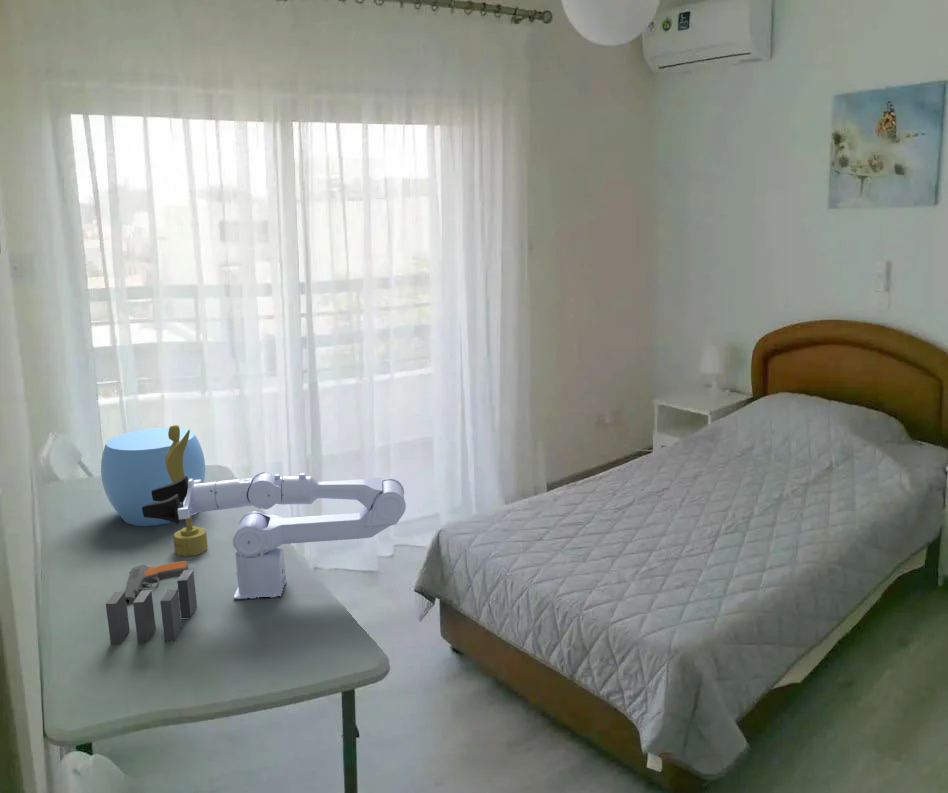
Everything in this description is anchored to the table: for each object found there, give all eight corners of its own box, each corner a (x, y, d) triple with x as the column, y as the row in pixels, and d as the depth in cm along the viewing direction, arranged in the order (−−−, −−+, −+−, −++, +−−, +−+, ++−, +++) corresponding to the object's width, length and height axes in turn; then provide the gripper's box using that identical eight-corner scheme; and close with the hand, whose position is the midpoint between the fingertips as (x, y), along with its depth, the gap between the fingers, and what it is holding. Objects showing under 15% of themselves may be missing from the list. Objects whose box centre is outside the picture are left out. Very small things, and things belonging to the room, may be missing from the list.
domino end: (129, 630, 156) (124, 591, 154) (120, 643, 151) (115, 603, 150) (119, 631, 156) (114, 592, 154) (110, 644, 151) (105, 603, 150)
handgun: (184, 597, 170) (121, 606, 167) (188, 566, 185) (131, 573, 182) (184, 589, 170) (121, 597, 167) (188, 559, 185) (130, 566, 182)
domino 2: (182, 628, 157) (177, 588, 155) (174, 641, 152) (170, 600, 150) (172, 628, 157) (167, 589, 155) (164, 641, 152) (160, 601, 150)
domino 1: (155, 629, 156) (151, 590, 155) (147, 642, 152) (143, 602, 150) (146, 630, 156) (141, 590, 155) (137, 643, 152) (133, 602, 150)
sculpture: (166, 548, 194) (153, 423, 188) (196, 539, 199) (184, 418, 193) (187, 562, 186) (173, 432, 180) (217, 552, 191) (205, 426, 185)
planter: (181, 491, 234) (174, 421, 230) (227, 512, 217) (220, 436, 213) (91, 515, 217) (81, 440, 213) (133, 539, 200) (123, 458, 195)
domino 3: (197, 607, 165) (193, 569, 163) (190, 618, 160) (186, 580, 159) (187, 607, 165) (184, 570, 163) (181, 619, 160) (177, 580, 159)
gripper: (220, 463, 172) (152, 470, 171) (208, 491, 158) (134, 500, 157) (225, 494, 174) (159, 502, 173) (214, 525, 160) (141, 533, 159)
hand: (147, 503), depth 165 cm, fingers open, 7 cm apart
